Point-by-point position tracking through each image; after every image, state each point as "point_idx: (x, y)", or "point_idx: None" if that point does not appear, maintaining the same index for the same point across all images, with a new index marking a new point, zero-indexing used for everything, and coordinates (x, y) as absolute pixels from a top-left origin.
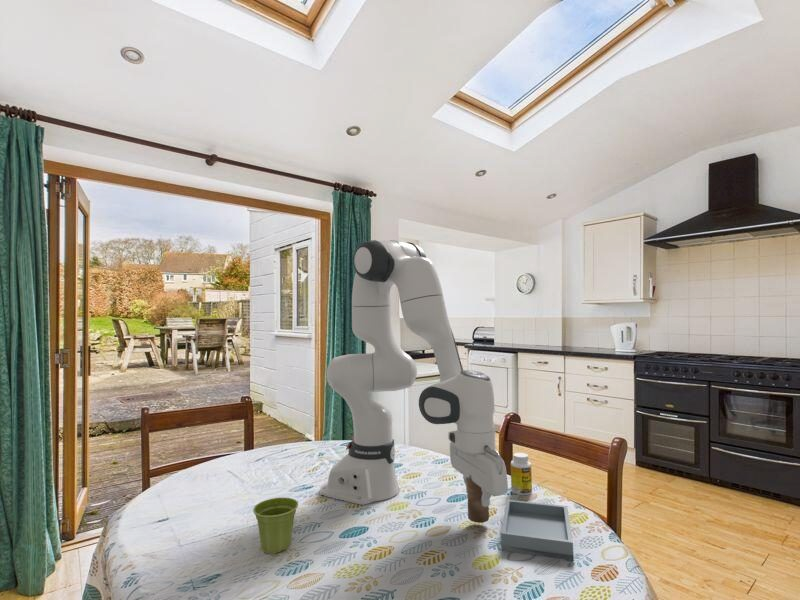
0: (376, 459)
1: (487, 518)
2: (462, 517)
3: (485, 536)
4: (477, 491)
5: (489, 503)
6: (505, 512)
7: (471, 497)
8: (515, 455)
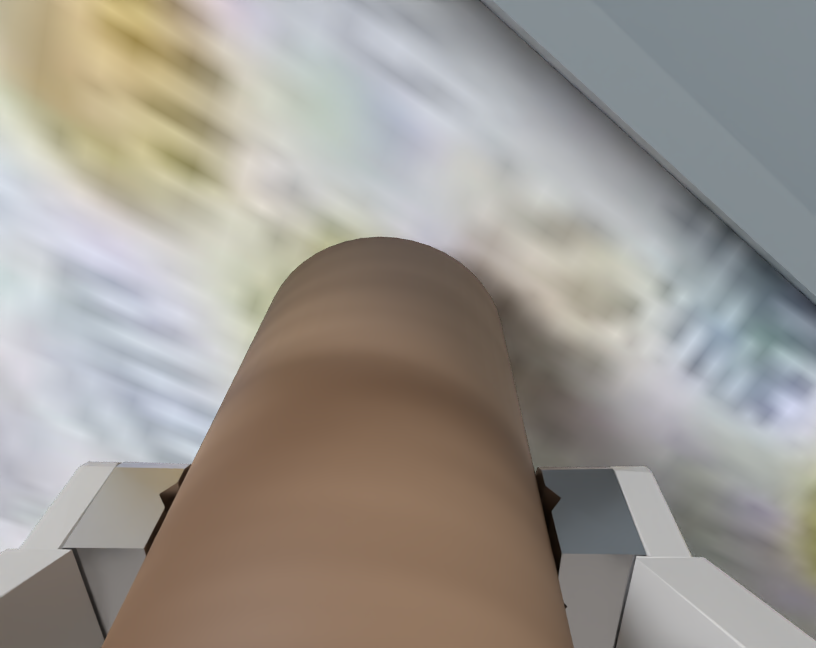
0: None
1: (494, 310)
2: (176, 358)
3: (592, 351)
4: None
5: (654, 486)
6: (603, 79)
7: None
8: None
